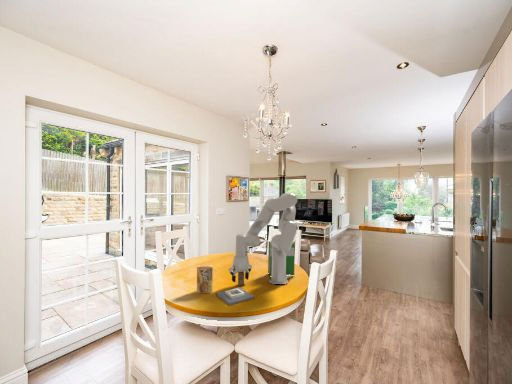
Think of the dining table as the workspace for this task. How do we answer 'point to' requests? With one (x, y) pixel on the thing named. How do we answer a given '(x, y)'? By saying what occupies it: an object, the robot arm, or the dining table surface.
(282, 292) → the dining table surface
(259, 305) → the dining table surface
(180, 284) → the dining table surface
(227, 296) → the board
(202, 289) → the candy box
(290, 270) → the hardback book
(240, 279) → the walnut pin
